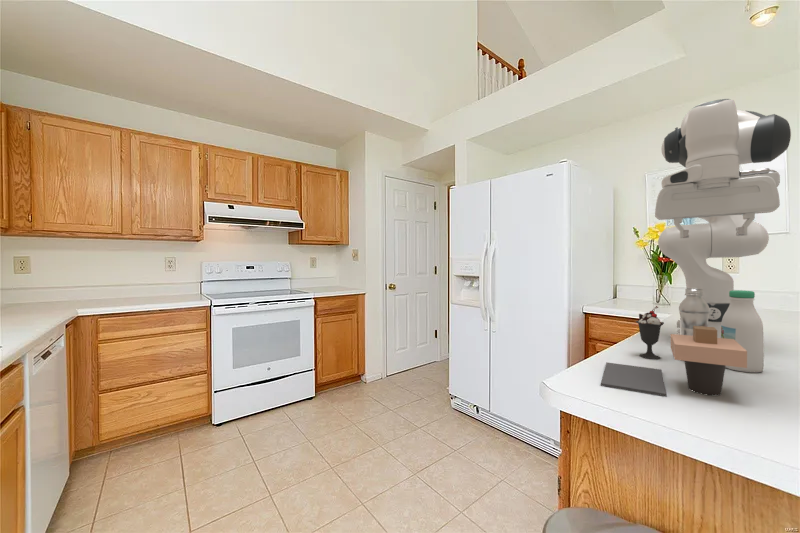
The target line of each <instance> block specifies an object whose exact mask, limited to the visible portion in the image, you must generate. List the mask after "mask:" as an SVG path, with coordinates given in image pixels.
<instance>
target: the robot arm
mask: <svg viewBox="0 0 800 533" xmlns="http://www.w3.org/2000/svg"><path fill="white" fill-rule="evenodd" d="M791 139H792V129H791V127H790V123H789V121H788V119H786V118H784V117H783V116H780V115H778V114H775V113H773V114H769V115H766V114H762V113H760V112H757V111H751V110H743V109H742V110H741V109H737V105H736V103H735V100H734V99H730V98H722V99H716V100H712V101H705V102H701V103H699V104H697V105H694V106H693V107H692V108H691V109H690V110H688V111H687V112H686V114H685V115H684V117H683V118H682V121H681V124H680V128H679V127H675V128H674V130H673V131H670V132H669V133H668V134H667V135H666V136H665V137H664V140H663V141H662V144H661V154H662V157H663V158H664V159H665V161H666V162H668V163H669V164H677V163H679V164H680V165H681V166H682V167H684V169H681V170H678V171H676V172H673V173H671V174H668V175H666V176H664V177H663V178H662V179H661V190H659V193H658V195H657V199H656V202H655V211H654V214H655V215H654V216H655V218H656V219H657V220H658V221H663V220H665V221H666V220H673V225H674V226H671V227H667V228H665V229H664V230H663V231H662V232H661V233H660V234H659V236H658V240H657V245H658V248H659V250H660V252H661V253H662V254H663V255H664V256H665V257H667V258H669V259H670V260H672V261H673V262H674V263H675V264H677V266H678V267H679V268H680V269H681V271H682V273H683V275H684V278H685V286H686V288H685V289H687V288H695V289H703V296H702V298H703V300H704V301H705V302H706V303H707V304H708V306H709V308H710V312H709V318H708V327H714V328H715V329H716V330H717V338H721V323H722V318H723V316H724V314H725V312H726V311H727V309H728V307H729V305H730V299H729V298H730V296H729V291H732V290H735V289H734V278H733V277H732V276H731V275H730V274H729V273H727V272H726V271H723V270H722V269H718V268H715V267H712V266H711V265H709V264H708V263H707V259H711V258H713V259H717V258H721V259H723V258H724V259H725V258H728V259H729V258H743V257H750V256H756V255H759V254H761V253H762V252H763V251H764V250H765V249H766V247H767V246H768V244H769V241H770V240H769V239H770V237H769V235H770V234H769V233H768V231H767V229H766V228H765V227H764V226H763V225H762V224H761V223H760V222H757V221H754V219H755V218H756V215H758V214H768V213H773V212H775V211H776V210H778V208H780V205H781V203H780V195H779V190H778V189H779V188H778V187H779V186H780V183H781V177H780V176H781V175H780V173H779V172H778V171H777V170H775V169H770V168H769V167H767V168H766V167H764V168H760V169H748V170H740V165H746V164H752V163H753V164H757V163H758V164H759V163H760V164H761V163H769V162H770V163H771V162H772V161H774V160H775V159H777V158H778V157H779V156H781V155H782V154H784V153H785V151H787V150H788V148H789V146H790V143H791ZM695 218H697V219H701V220H704V221H707V222H708V223H707V222H706V223H694V224H693V223H692V224H682V222H683V219H695ZM676 328H678V329H677V333H676V334H677V335H682V326H681V318H680V317H679V319H678V320H677V321H676Z"/></svg>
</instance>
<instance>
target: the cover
mask: <svg viewBox="0 0 800 533" xmlns="http://www.w3.org/2000/svg"><path fill="white" fill-rule="evenodd" d="M670 350H671V352H672V355H673V358H674V360H676V361H683V362H685V361H691V362H700V363H708V364H717V365H726V366H734V367H743V368H747V351H746V350H745V349H744V348H743V347H742V346H741V345H740V344H739V343H737V342H736V341H735V340H734V339H726V338H717V330H716V329H715V328H714V327H704V326H693V336H689V335H677V333H671V334H670Z"/></svg>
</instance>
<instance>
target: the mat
mask: <svg viewBox="0 0 800 533" xmlns="http://www.w3.org/2000/svg"><path fill="white" fill-rule="evenodd" d="M600 386H601V387H605V388H612V389H619V390H625V391H631V392H636V393H642V394H648V395H653V396H660V397H667V390H666V386H665V381H664V375H663V370H662V369H661V368H653V367H646V366H645V367H644V366H638V365H637V366H636V365H629V364H624V363H617V362H616V363H614V362H606V363H605V366H604V369H603V374H602V378H601V382H600Z"/></svg>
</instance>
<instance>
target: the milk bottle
mask: <svg viewBox="0 0 800 533" xmlns="http://www.w3.org/2000/svg"><path fill="white" fill-rule="evenodd" d="M755 295H756V294H755V292H754V291H753V290H742V289H741V290H735V289H734V290H732V291H729V296H730V298H729V299H730V305H729V307H728V309H727V311H726V312H725V314H724V316H723V318H722V323H721V338H726V339H734V340H735V341H736V342H737V343H739V344H740V345H741V346H742V347H743V348H744V349H745V350H746V351H747V368H743V367H734V366H725V369H726V368H727V370H729V369H730V370H732V371H736V372H743V373H751V374H754V373H757V374H758V373H762V372H763V371H764V361H765V360H764V351H765V350H764V349H765V348H764V343H765V342H764V324H763V321H762V318H761V316H760V315H759V313H758V312H757V310H756V308H755V304H754V301H755V300H756V299H755V297H756V296H755Z"/></svg>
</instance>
